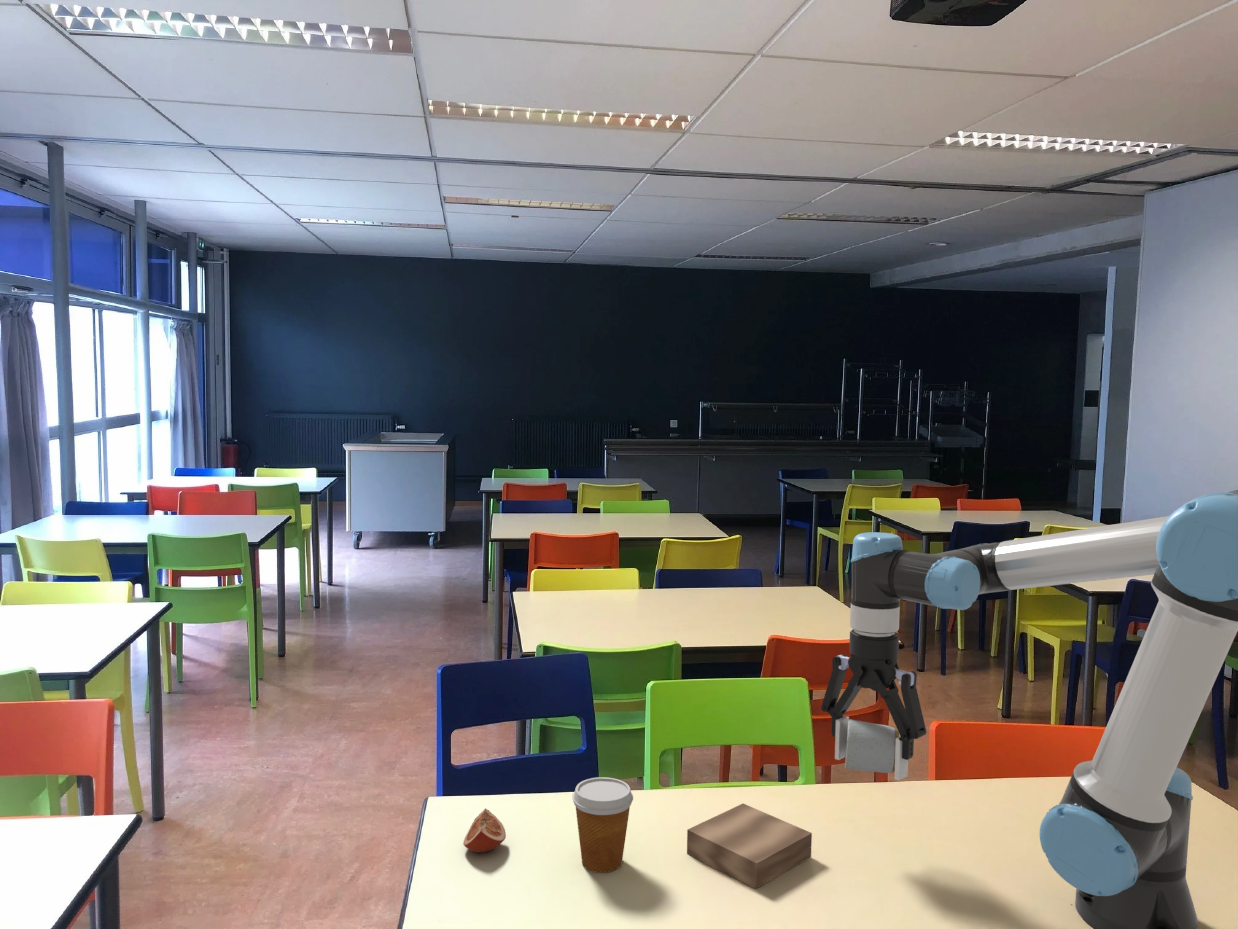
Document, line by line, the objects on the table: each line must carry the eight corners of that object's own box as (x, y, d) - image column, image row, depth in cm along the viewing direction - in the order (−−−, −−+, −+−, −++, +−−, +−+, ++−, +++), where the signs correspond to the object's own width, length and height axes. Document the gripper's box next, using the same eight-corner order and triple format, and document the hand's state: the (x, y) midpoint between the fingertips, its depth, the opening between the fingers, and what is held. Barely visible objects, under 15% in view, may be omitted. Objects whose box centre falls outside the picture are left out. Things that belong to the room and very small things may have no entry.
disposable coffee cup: (579, 882, 139) (580, 805, 138) (565, 851, 148) (566, 779, 147) (639, 874, 142) (641, 799, 141) (623, 844, 151) (624, 773, 150)
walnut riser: (811, 857, 147) (811, 833, 147) (756, 889, 138) (756, 863, 138) (742, 826, 158) (743, 803, 157) (686, 853, 148) (687, 829, 148)
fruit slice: (467, 836, 153) (467, 806, 153) (508, 835, 153) (508, 806, 153) (460, 861, 145) (460, 831, 144) (503, 861, 145) (503, 831, 145)
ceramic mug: (899, 781, 143) (900, 733, 143) (844, 776, 145) (846, 728, 144) (895, 756, 153) (896, 711, 153) (844, 752, 155) (845, 707, 155)
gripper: (953, 640, 140) (948, 782, 142) (827, 614, 157) (824, 741, 159) (929, 650, 135) (924, 796, 137) (800, 621, 152) (798, 753, 154)
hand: (870, 767), depth 148 cm, fingers closed on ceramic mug, 10 cm apart
